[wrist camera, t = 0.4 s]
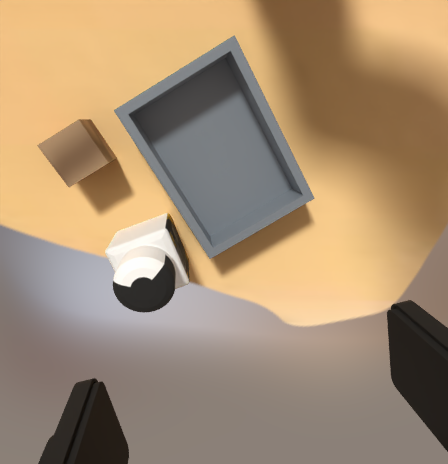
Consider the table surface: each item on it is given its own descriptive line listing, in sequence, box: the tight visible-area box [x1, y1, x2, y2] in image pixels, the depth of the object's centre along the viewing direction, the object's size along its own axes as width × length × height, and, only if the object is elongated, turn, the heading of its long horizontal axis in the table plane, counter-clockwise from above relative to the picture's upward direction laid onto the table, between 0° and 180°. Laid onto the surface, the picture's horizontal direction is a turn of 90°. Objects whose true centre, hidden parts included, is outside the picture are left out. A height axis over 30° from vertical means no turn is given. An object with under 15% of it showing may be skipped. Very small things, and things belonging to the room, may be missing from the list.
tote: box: [114, 35, 314, 259], centre depth 40 cm, size 19×14×5 cm
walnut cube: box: [37, 120, 117, 187], centre depth 38 cm, size 5×5×5 cm
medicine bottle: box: [105, 213, 189, 312], centre depth 39 cm, size 7×7×12 cm
